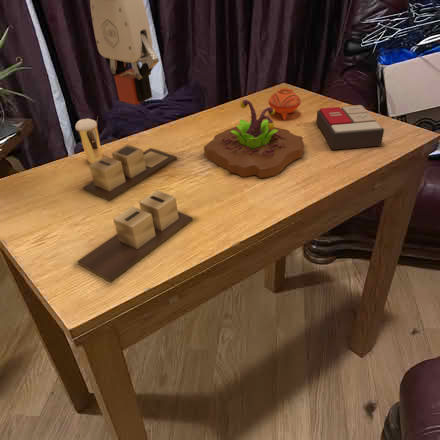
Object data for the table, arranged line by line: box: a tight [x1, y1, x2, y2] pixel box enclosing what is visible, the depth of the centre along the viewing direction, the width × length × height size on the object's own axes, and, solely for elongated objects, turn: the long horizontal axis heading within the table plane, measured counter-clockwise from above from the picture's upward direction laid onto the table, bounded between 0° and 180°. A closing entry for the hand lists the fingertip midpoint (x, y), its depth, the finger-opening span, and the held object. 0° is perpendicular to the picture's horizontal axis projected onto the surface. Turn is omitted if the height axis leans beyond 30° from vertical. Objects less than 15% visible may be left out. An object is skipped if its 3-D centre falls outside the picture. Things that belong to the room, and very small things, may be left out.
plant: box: [203, 99, 305, 179], centre depth 90 cm, size 20×20×11 cm
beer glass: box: [75, 117, 104, 164], centre depth 92 cm, size 5×5×10 cm
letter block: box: [113, 67, 153, 106], centre depth 80 cm, size 4×4×5 cm
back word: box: [82, 144, 178, 202], centre depth 89 cm, size 8×20×5 cm, turn 143°
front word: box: [77, 189, 194, 283], centre depth 72 cm, size 8×20×5 cm, turn 143°
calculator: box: [316, 104, 385, 151], centre depth 97 cm, size 11×4×15 cm
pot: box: [268, 87, 302, 121], centre depth 106 cm, size 8×8×7 cm
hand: (135, 95), depth 81 cm, fingers closed on letter block, 4 cm apart
